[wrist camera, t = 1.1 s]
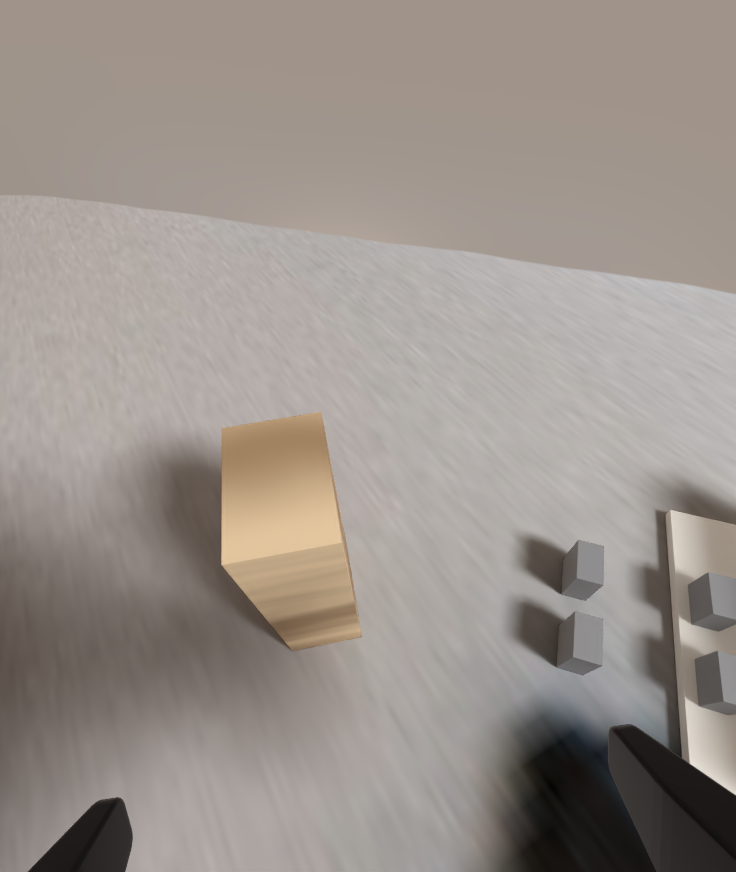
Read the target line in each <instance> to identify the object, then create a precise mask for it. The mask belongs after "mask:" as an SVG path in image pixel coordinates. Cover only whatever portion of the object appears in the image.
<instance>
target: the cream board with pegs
mask: <svg viewBox="0 0 736 872" xmlns="http://www.w3.org/2000/svg"><path fill="white" fill-rule="evenodd" d="M665 517H666V532H667V546H668V561H669V575H670V590H671V604H672V619H673V633H674V648H675V662H676V677H677V691H678V706H679V720H680V735H681V749H682V759H684V760H685V761H687V762H688V763H690V764H691V765H693V766H694V767H696V768H697V769H698V770H700V771H701V772H703V773H704V774H706V775H707V776H709V777H710V778H712V779H713V780H714V781H716V782H717V783H719V784H720V785H722V786H723V787H725V788H726V789H728V790H729V791H730V792H732V793H733V794H735V795H736V525H735V524H731V523H726V522H722V521H717V520H713V519H708V518H704V517H700V516H695V515H691V514H686V513H682V512H677V511H673V510H670V511H669V512H668V513H667V514H666V515H665ZM603 575H604V546H601V545H597V544H593V543H589V542H585V541H581V540H578V541H577V542H576V544H575V545H574V546H573V547H572V548H571V550H570V551H569V552H568V553H567V555H566V556H565V557H564V558H563V572H562V588H561V594H562V595H566V596H570V597H574V598H577V599H581V600H585V601H586V600H587V599H588V598H589V597H590V596H591V595H592V594H594V593H595V592H596V591H597V590H598V589H599V588H601V587H602V586H603ZM602 655H603V619H601V618H597V617H594V616H590V615H586V614H583V613H579V612H576V611H575V612H574V613H573V614H572V615H570V616H569V617H568V618H567V619H566V620H565V621H563V622H562V623H561V624H560V625H559V635H558V651H557V668H560V669H564V670H567V671H570V672H574V673H577V674H580V675H584V674H586V673H588V672H590V671H593V670H595V669H597V668H599V667H601V666H602Z"/></svg>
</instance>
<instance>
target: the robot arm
mask: <svg viewBox="0 0 736 872" xmlns="http://www.w3.org/2000/svg"><path fill="white" fill-rule="evenodd" d="M608 763H609V768H610V772H611V775H612V777H613V780H614V782H615V784H616V786H617V788H618V790H619V792H620V795H621V797H622V799H623V801H624V803H625V805H626V807H627V810H628V812H629V814H630V816H631V818H632V820H633V823H634V825H635V827H636V829H637V831H638V833H639V835H640V838H641V840H642V842H643V844H644V846H645V848H646V850H647V853H648V855H649V857H650V859H651V861H652V863H653V865H654V867H655V869H656V871H657V872H736V795H735V794H733V793H732V792H730V791H729V790H728V789H726V788H725V787H723V786H722V785H720V784H719V783H717V782H716V781H714V780H713V779H712V778H710V777H709V776H707V775H706V774H704V773H703V772H701V771H700V770H698V769H697V768H696V767H694V766H693V765H691V764H690V763H688V762H687V761H685V760H684V759H682V758H681V757H680V756H678V755H677V754H675V753H674V752H672V751H671V750H669V749H668V748H666V747H665V746H664V745H662V744H661V743H659V742H658V741H656V740H655V739H653V738H652V737H650V736H649V735H648V734H646V733H645V732H643V731H642V730H640V729H639V728H637V727H636V726H634V725H631V724H626V725H619V726H613V727H611V728H610V730H609V739H608ZM132 840H133V835H132V828H131V825H130V821H129V818H128V814H127V810H126V807H125V803H124V801H123V800H122V799H121V798H118V797H117V798H110V799H103V800H99V801H97V802H96V803H94V804H93V805H92V806H91V807H90V808H89V809H88V810H87V811H86V812H85V813H84V814H83V815H82V816H81V817H80V819H79V820H78V821H77V822H76V823H75V824H74V825H73V826H72V827H71V828H70V829H69V830H68V831H67V832H66V833H65V834H64V835H63V836H62V837H61V838H60V839H59V840H58V841H57V842H56V843H55V844H54V845H53V846H52V847H51V848H50V849H49V850H48V851H47V852H46V853H45V855H44V856H43V857H42V858H41V859H40V860H39V861H38V862H37V863H36V864H35V865H34V866H33V867H32V868H31V869H30V870H29V871H28V872H125V871H126V867H127V863H128V859H129V855H130V852H131V847H132Z"/></svg>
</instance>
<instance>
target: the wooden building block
mask: <svg viewBox="0 0 736 872" xmlns="http://www.w3.org/2000/svg"><path fill="white" fill-rule="evenodd" d="M221 565H222V566H223V567H224V569H225V570H226V571H227V572H228V574H229V575H230V576H231V577H232V578H233V580H234V581H235V582H236V583H237V584H238V586H239V587H240V588H241V589H242V590H243V592H244V593H245V594H246V595H247V597H248V598H249V599H250V600H251V601H252V603H253V604H254V605H255V606H256V607H257V609H258V610H259V611H260V612H261V613H262V615H263V616H264V617H265V618H266V620H267V621H268V622H269V623H270V624H271V626H272V627H273V628H274V629H275V630H276V632H277V633H278V634H279V635H280V636H281V638H282V639H283V640H284V641H285V643H286V644H287V645H288V646H289V647H290V649H291V650H292V651H295V650H300V649H305V648H310V647H314V646H319V645H324V644H329V643H334V642H339V641H344V640H349V639H354V638H359V637H362V635H361V629H360V623H359V617H358V611H357V605H356V598H355V592H354V586H353V580H352V574H351V568H350V562H349V556H348V549H347V543H346V538H345V533H344V528H343V523H342V518H341V512H340V507H339V502H338V497H337V492H336V487H335V481H334V476H333V471H332V466H331V461H330V456H329V450H328V445H327V440H326V435H325V430H324V425H323V419H322V414H321V412H317V413H311V414H305V415H299V416H293V417H287V418H281V419H275V420H269V421H263V422H257V423H251V424H245V425H239V426H232V427H226V428H222V556H221Z"/></svg>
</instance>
